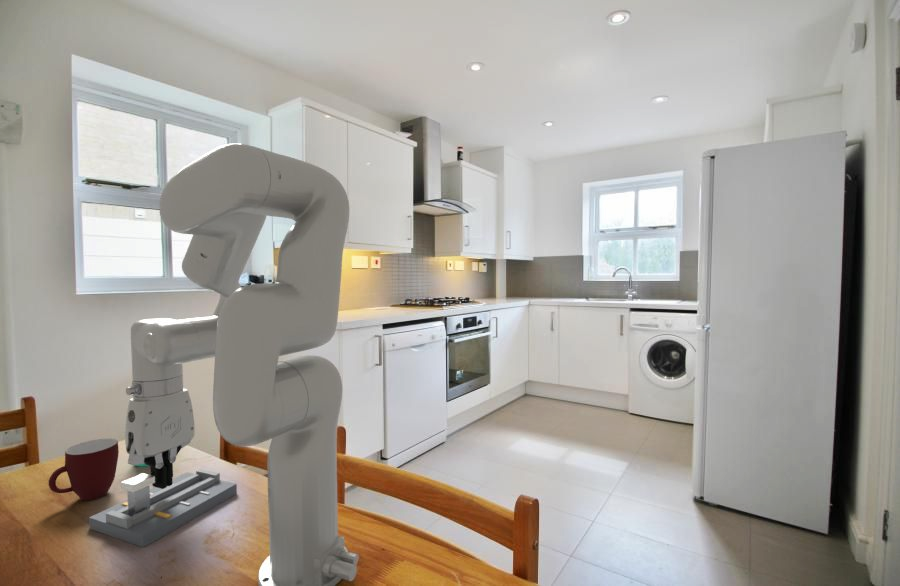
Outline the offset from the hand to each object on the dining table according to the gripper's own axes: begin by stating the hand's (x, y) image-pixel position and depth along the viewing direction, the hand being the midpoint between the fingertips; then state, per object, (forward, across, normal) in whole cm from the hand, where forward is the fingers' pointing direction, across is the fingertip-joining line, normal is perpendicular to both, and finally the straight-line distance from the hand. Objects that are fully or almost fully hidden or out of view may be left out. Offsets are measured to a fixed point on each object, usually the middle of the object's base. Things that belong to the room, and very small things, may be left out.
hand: (162, 485), depth 78 cm
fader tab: (+3, -4, 0) cm, 5 cm away
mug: (+5, -2, +19) cm, 20 cm away
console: (+5, +1, 0) cm, 5 cm away
